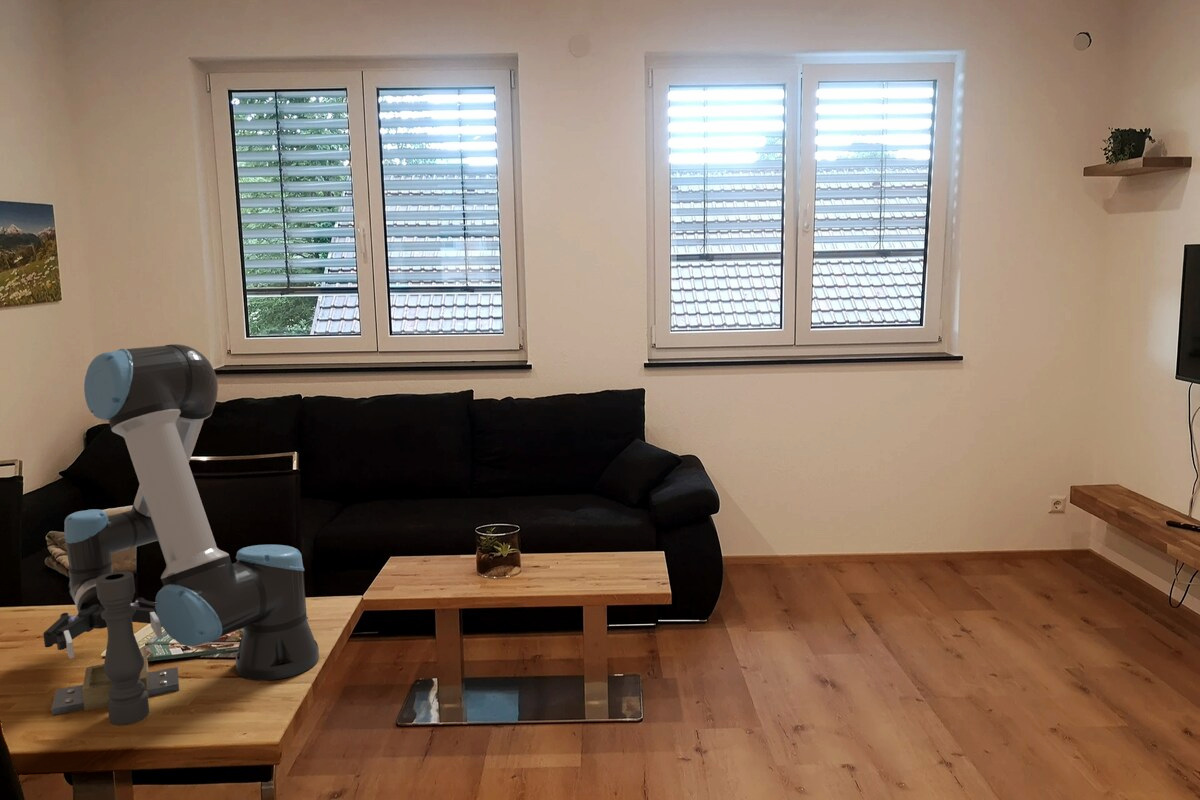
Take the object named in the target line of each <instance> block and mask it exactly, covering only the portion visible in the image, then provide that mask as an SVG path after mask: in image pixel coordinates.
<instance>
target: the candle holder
mask: <svg viewBox="0 0 1200 800" xmlns="http://www.w3.org/2000/svg"><path fill="white" fill-rule="evenodd" d="M135 586H136V585H135V576H134V573H133V572H132V571H129V570H128V571H127V570H120V571H113V572H112V573H107V574H104V575H101V576H99V577H97V578H96V588H97V597H98V599H99V600H100V603H101V604H102V605H103V607H104V608H105V610H104V611H103V612H102V613H101V617H102V619H104V620H105V622H107V629H106V630H107V644H106V649H105V655H104V663H103V664H104V671H105V674H106V676H107V677H108V678H109V679H110V680H111V683H112V684H113V686H112V687H111V689H110V691H109V692H108V695H109V698H110V699H109V700H108V702H107V703H108V707H107V709H108V720H109V723H110V724H112V725H115V726H126V725H131V724H132V725H133V724H135V723H138V722H140V721H142V720H144V719H145V718H147V717H148V716H149V715H150V713H151V712H150V704H149V699H148V694H147V692H146V691H144V690H145V685H144V683H142V682H141V681H140V680H139V677H140V672H141V671H142V669H143V667H144V659H143V657H144V656H143V654H142V652H141V649H140V646H139V644H138V642H137V639H136V636H135V633H134V626H133V623H134V622H132V616H133V614H134V613H135V612H136V609H135V607H134V606H131V605H130V604H133V599H135V593H136V587H135Z"/></svg>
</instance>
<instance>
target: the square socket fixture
mask: <svg viewBox="0 0 1200 800" xmlns="http://www.w3.org/2000/svg"><path fill="white" fill-rule="evenodd" d="M143 659H144V667H143V669H142V671H141V672H140V677H139V680H140V681H141V682H142V683H144V685H145V690H144V691H146V692H147V694H148V700H149V697H152V696H153V697H154V696H157V695H162V694H169V693H173V692H177V691H178V692H179V691H180V683H179V681H180V680H179V668H178V666H175V667H170V668H165V669H160V670H155V671H149V664H148V656H146V655H145V656H143ZM83 679H84V680H83V684H80V685H74V686H70V687H64V688H59V689H55V693H54V696H53V697H54V698H53V701H52V704H51V715H52V716H56V715H55V714H57V715H62V714H67V713H72V712H76V711H81V710H84V712H88V711H89V712H90V711H94V710H99V709H103V708H108V703H107V702H108V700H109V699H110V698H109V695H108V692H109V691H110V689H111V687H112V686H113V684H112V683H111V680H110V679H109V678H108V677H107V676H106V674H105V671H104V663H103V664H97V665H92V666H86V668H85V673H84V678H83ZM66 712H67V713H66ZM61 713H62V714H61Z"/></svg>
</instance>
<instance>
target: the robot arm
mask: <svg viewBox="0 0 1200 800" xmlns="http://www.w3.org/2000/svg"><path fill="white" fill-rule="evenodd" d="M214 369H215V368H213V366H212V364H211V363H210V361H209V360H208V358H207V357H206V356H205V355H204V354H203V353H202V352H200V351H199V350H197V349H195V348H193V347H191V346H189V345H185V344H177V343H175V344H173V343H172V344H171V343H170V344H165V345H158V346H149V347H148V346H145V347H136V348H135V347H134V348H120V349H118V350H112V351H107V352H103V353H100V354H98V355H97V356H95V357H94V358H93V359H92V360H91V362H90V363H89V365H88V367H87V369H86V373H85V377H84V384H83V385H84V387H83V389H84V398H85V401H86V402H85V403H86V405H87V408H88V410H89V412H90V413H92V414H93V416H94V417H95V418H96V419H98V420H104V421H108V423H109V424H108V425H109V427H110V429H111V432H112V433H114V434H116V435H119V436H120V437H122V438H123V439H124V441H125V445H126V446H127V450H128V453H129V456H130V460H131V462H132V465H133V468H134V472H135V474H136V476H137V481H138V483H139V484H138V485H139V486H138V489H137V492H136V495H135V497H134V502H133V504H132V507H131V509H129V510H127V511H123V512H120V513H116V514H112V515H108V514H107V512H106V511H105V510H103V509H97V508H96V509H94V508H93V509H87V510H79V511H75V512H73V513H71V514H68V515H67V516H66V517H65V519H64V541H65V548H66V555H67V561H68V574H69V583H68V588H69V594H70V597H71V598H72V600H73V601H74V604H75V607H76V610H77V614H74V615H72V614H69V612H63V613H61V614H60V615H59V616H60V617H59V619H57V620H56V621H55V622H54V623H52V625H50V626H49V628H47V629H46V630H45V631H44V632H43V633H42V636H43V642H44V647H45V648H52V647H53V646H54V645H56V646H57V651H61V650H65V649H66V652H67V655H68V659H69V660H70V659H73V658H74V659H75V651H74V644H73V643H74V642H73V640H74V639H76V638H77V637H79V636H80V635H82V634H83V633H89V632H91V631H92V630H94V629H96V630H98V629H99V630H100V629H101V630H102V629H106V628H107V622H105V620H104V619H102V617H101V613H102V612H103V611H104V610H105V608H104V607H103V605H102V604H101V603H100V600H99V599H98V597H97V588H96V578H97V577H99V576H101V575H104V574H107V573H112V572H114V570H113V559H112V558H113V556H112V555H113V554H116V553H120V552H123V551H126V550H130V549H132V548H136V547H140V546H144V545H147V544H151V543H153V542H158V543H159V546H160V549H161V552H162V555H163V558H164V561H165V564H166V566H165V569H164V571H163V572H162V574H161V576H160V579H161V582H162V585H163V586H162V587H161V589H160V590H158V592H157V593H156V596H155V601H151V600H147V599H145V598H144V597H136V599H135V601H134V602H132V603H131V604H130V605H131V606H134V607H135V609H136V612H135V613H134V614H133V616H132V623H140V624H150V627H151V629H152V631H153V633H154V634H155V636H156V638H157V639H159V638H163V632H162V628H163V630H164V631H165V633H166V634H167V635H168V636H169V637H170V638H171V639H172V640H175V641H176V642H177V643H179V644H181V645H183V646H187V647H198V646H202V645H203V644H207V643H210V642H215V641H216V640H219V639H220V638H222V637H224V636H226V635H228V634H231V633H234V632H236V631H238V630H241V629H242V633H241V637H240V640H239V645H238V649H237V654H236V656H235V668H236V673H237V675H238V676H240V677H242V678H245V679H247V680H254V681H274V680H275V681H276V680H281V679H286V678H290V677H293V676H296V675H299V674H301V673H304V672H306V671H308V670H309V669H311V668H313V667H314V666H315V665H316V664H317V663H318V662H319V659H320V652H319V651H320V650H319V649H320V648H319V644H318V643H317V641H316V640H315V638H314V635H313V632H312V629H311V627H310V624H309V621H307V617H308V615H307V604H306V603H307V602H306V590H305V589H306V588H305V567H304V564H303V558H302V557H303V556H302V553H301V552H300V550H299V549H298V548H295V547H293V546H290V545H284V544H257V545H256V544H255V545H251V546H246V547H242V548H240V549H239V550H238V551H237V552H236V556H235V559H236V562H233V563H232V559H231V557H230V554H229V553H228V552H226V551H224V550H221V549H220V548H219V547H217V543H216V541H215V537H214V535H213V531H212V529H211V525H210V523H209V520H208V517H207V514H206V511H205V508H204V505H203V503H202V502H203V501H202V499H201V497H200V496H201V495H200V493H199V490H198V486H197V484H196V481H195V477H194V475H193V472H192V470H191V467H190V464H189V463H190V460H191V458H192V454H193V452H194V449H195V447H196V443H197V440H198V438H199V434H200V432H201V429H202V426H203V424H204V421H205V420H207V419H208V418H211V416H212V415H213V412H214V409H215V407H216V406H215V405H216V403H217V400H218V390H219V389H218V388H219V385H218V379H217V375H216V371H215V370H214Z"/></svg>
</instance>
